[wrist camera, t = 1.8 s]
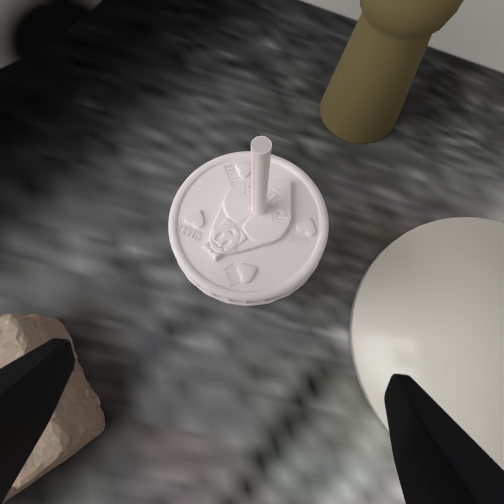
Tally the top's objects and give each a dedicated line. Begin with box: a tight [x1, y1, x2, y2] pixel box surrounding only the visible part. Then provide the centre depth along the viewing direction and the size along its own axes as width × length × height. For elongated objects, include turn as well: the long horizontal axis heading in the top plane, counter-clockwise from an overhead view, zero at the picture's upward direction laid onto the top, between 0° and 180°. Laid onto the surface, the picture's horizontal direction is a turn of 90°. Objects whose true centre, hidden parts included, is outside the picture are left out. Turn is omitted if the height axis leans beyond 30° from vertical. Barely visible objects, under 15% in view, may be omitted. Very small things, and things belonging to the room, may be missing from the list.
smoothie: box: [168, 136, 329, 306], centre depth 16 cm, size 6×6×14 cm
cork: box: [320, 0, 463, 144], centre depth 21 cm, size 6×6×11 cm
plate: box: [349, 217, 504, 470], centre depth 20 cm, size 16×16×1 cm
